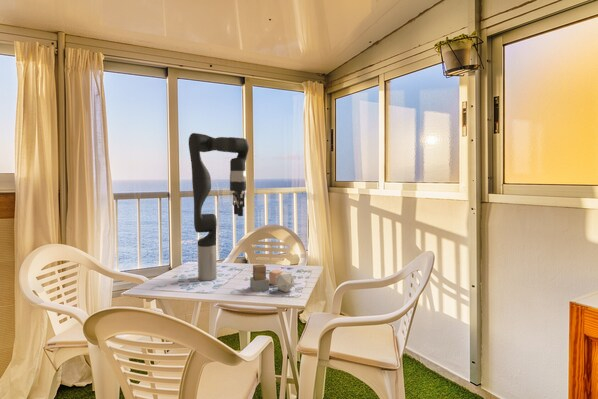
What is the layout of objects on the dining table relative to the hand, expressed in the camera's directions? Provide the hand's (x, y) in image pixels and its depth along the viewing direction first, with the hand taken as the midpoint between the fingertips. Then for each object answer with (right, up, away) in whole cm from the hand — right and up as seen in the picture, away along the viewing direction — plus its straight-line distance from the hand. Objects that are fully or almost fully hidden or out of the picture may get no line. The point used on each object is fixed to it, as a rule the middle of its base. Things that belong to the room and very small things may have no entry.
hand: (238, 215), depth 173 cm
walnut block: (+10, -29, -2) cm, 31 cm away
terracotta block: (+17, -34, +7) cm, 39 cm away
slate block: (+10, -35, -1) cm, 36 cm away
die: (+22, -35, -4) cm, 41 cm away
